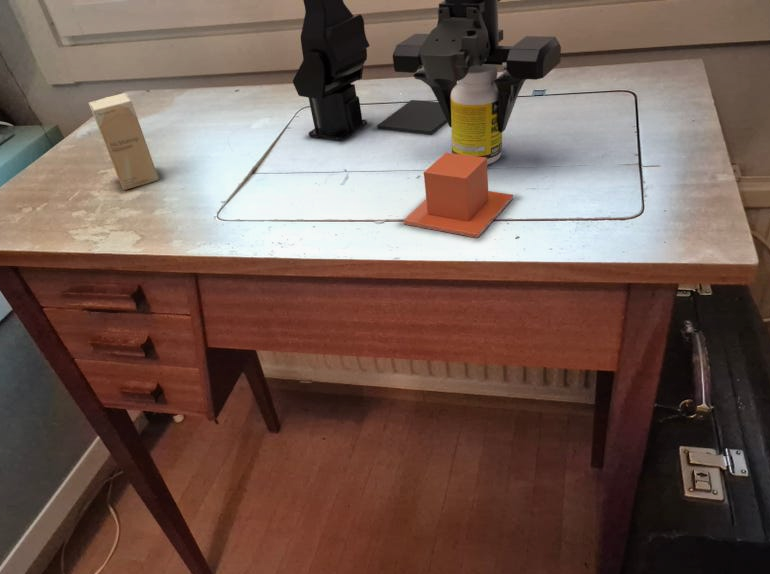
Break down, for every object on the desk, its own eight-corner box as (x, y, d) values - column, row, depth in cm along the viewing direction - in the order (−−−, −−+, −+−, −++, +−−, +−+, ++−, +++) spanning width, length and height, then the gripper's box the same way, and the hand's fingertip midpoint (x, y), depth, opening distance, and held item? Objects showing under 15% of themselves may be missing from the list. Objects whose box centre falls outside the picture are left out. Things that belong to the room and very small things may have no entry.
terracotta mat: (403, 224, 73) (403, 220, 72) (442, 187, 78) (442, 183, 78) (477, 238, 68) (477, 233, 68) (513, 198, 74) (513, 194, 73)
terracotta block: (427, 214, 73) (423, 172, 69) (448, 194, 76) (445, 152, 72) (468, 221, 70) (465, 178, 67) (488, 200, 73) (487, 157, 70)
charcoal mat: (377, 128, 95) (376, 125, 94) (412, 103, 101) (411, 99, 100) (431, 134, 90) (431, 131, 90) (464, 107, 96) (464, 104, 96)
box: (124, 191, 90) (90, 110, 83) (119, 180, 93) (85, 102, 86) (161, 179, 91) (131, 99, 84) (155, 169, 94) (125, 90, 87)
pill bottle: (499, 168, 80) (502, 74, 73) (449, 168, 81) (446, 76, 74) (503, 146, 84) (506, 56, 77) (455, 146, 86) (453, 57, 78)
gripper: (357, 7, 70) (378, 148, 80) (521, 7, 61) (521, 165, 71) (410, -20, 77) (423, 113, 87) (565, -24, 68) (559, 125, 78)
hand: (476, 128), depth 80 cm, fingers closed on pill bottle, 6 cm apart
